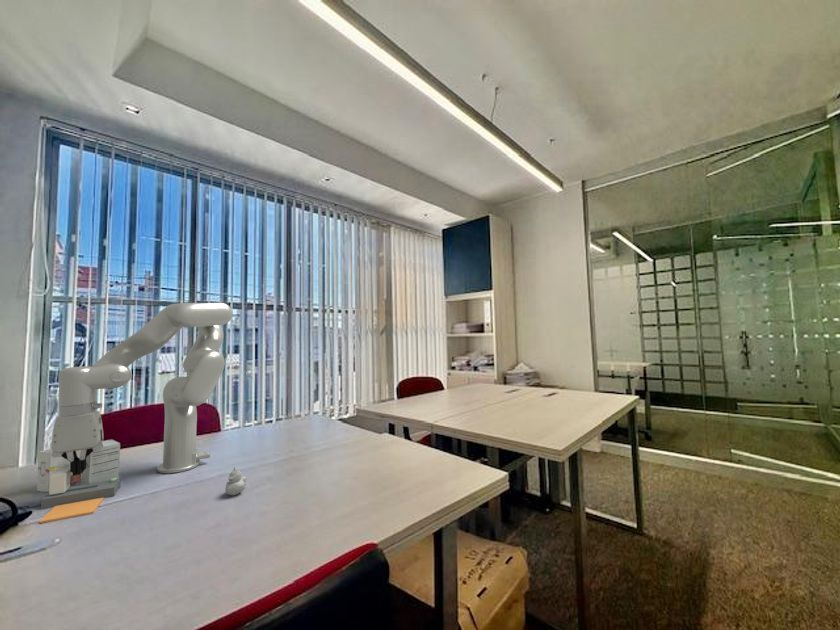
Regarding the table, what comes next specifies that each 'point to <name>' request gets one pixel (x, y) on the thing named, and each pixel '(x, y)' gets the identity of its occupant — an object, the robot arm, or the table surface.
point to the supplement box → (102, 463)
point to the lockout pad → (72, 510)
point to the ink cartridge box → (52, 468)
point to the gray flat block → (82, 493)
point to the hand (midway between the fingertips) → (78, 473)
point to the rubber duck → (235, 483)
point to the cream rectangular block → (59, 482)
